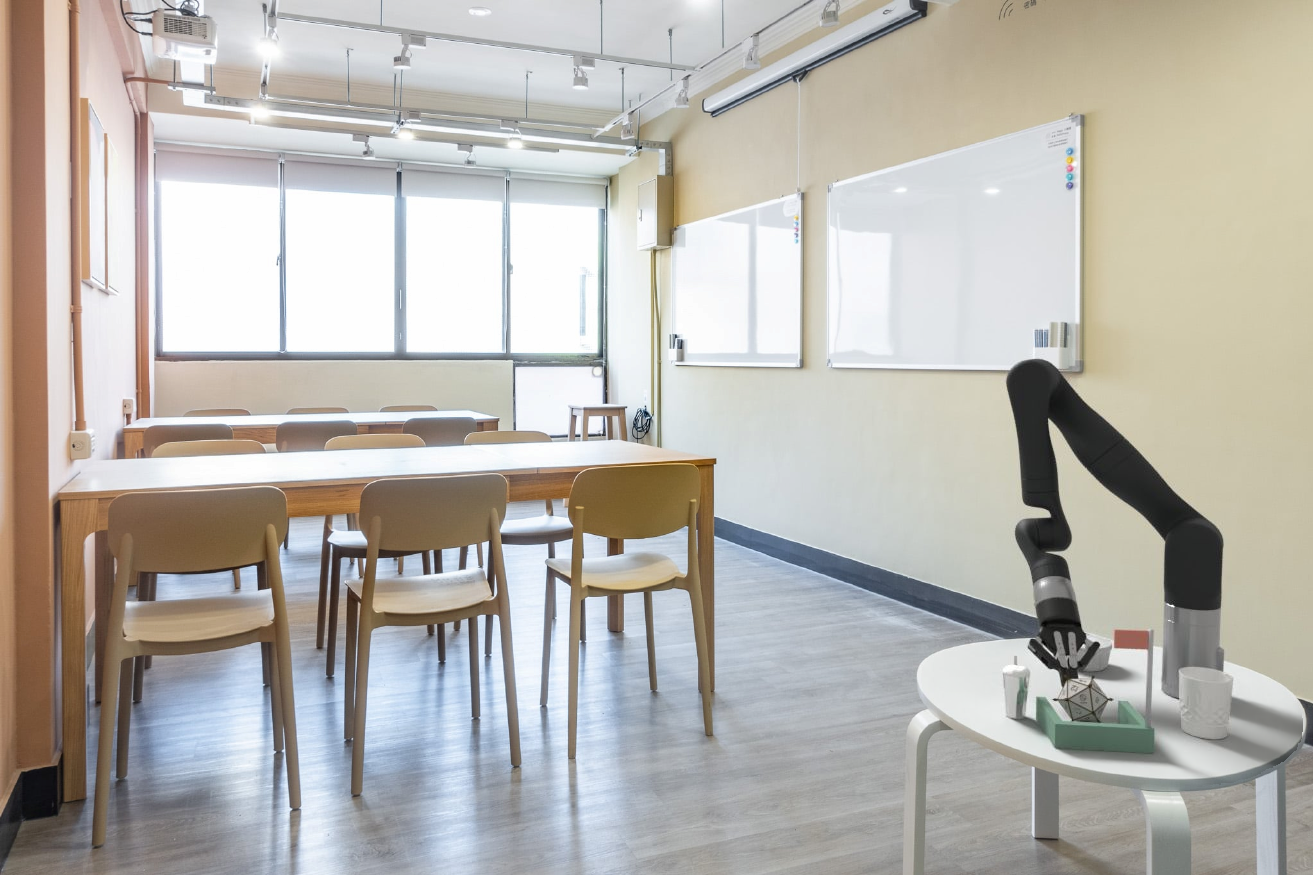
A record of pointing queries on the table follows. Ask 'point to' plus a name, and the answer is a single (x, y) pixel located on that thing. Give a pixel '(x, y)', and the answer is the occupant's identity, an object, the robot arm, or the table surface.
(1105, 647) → the ramekin
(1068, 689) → the game die
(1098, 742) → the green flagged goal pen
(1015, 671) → the milkshake
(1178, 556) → the robot arm
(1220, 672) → the white cup
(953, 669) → the table surface
